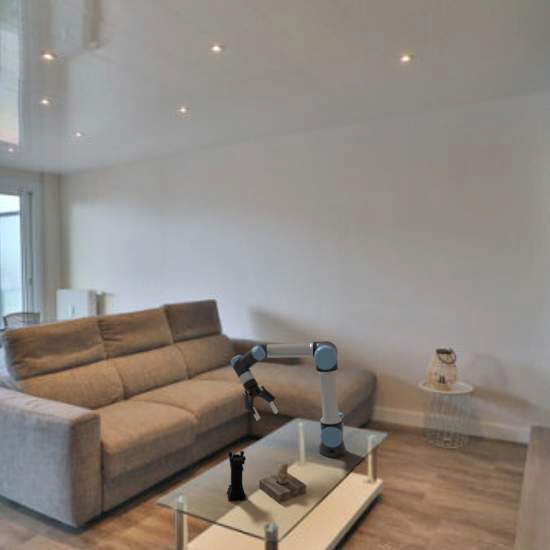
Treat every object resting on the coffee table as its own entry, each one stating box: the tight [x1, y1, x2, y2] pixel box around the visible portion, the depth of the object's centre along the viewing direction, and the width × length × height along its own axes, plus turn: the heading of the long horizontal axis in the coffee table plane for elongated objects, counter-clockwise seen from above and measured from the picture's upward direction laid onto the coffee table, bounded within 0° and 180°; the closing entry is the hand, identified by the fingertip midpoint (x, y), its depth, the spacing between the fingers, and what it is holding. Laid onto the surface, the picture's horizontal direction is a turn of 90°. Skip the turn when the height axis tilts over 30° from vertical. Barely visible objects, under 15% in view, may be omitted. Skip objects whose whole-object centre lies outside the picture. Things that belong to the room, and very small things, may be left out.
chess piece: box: [226, 450, 247, 502], centre depth 222 cm, size 8×8×20 cm
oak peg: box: [277, 461, 289, 486], centre depth 228 cm, size 4×4×13 cm
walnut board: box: [258, 471, 307, 504], centre depth 229 cm, size 16×16×4 cm
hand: (267, 416), depth 250 cm, fingers open, 13 cm apart
